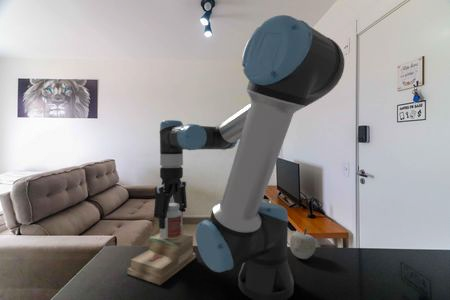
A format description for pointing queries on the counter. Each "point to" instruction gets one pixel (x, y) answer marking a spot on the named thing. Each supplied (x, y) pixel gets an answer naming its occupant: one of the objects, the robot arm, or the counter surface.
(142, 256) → the stand
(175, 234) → the pill bottle
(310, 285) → the counter surface
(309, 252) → the decorative object
